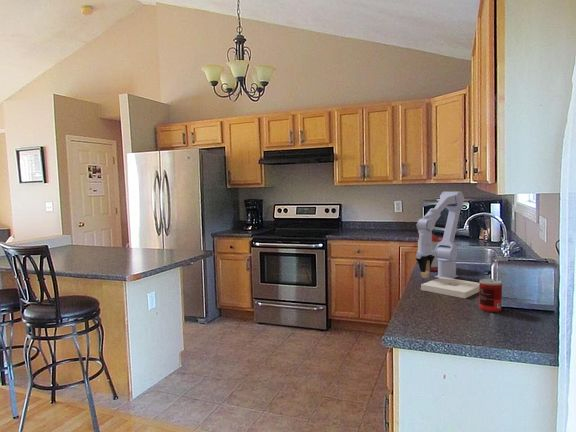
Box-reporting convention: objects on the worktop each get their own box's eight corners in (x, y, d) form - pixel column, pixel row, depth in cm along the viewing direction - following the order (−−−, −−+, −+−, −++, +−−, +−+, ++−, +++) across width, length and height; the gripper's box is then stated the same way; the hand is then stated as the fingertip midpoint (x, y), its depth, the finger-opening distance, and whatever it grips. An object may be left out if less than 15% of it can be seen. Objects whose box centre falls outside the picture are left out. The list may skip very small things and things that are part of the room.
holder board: (441, 281, 196) (441, 276, 196) (484, 289, 182) (484, 283, 182) (420, 289, 183) (420, 284, 183) (465, 298, 168) (465, 292, 168)
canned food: (498, 307, 156) (499, 279, 155) (503, 313, 148) (504, 284, 148) (477, 305, 158) (477, 278, 157) (481, 312, 150) (481, 283, 150)
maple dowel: (423, 275, 198) (423, 259, 197) (431, 277, 195) (431, 260, 194) (419, 277, 195) (419, 261, 195) (427, 278, 192) (427, 262, 192)
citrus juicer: (449, 267, 230) (449, 232, 228) (444, 273, 215) (444, 236, 213) (421, 264, 238) (421, 231, 236) (414, 270, 223) (414, 234, 221)
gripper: (425, 240, 202) (425, 267, 203) (409, 244, 192) (409, 272, 193) (438, 242, 196) (438, 269, 198) (423, 245, 187) (423, 274, 188)
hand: (425, 271), depth 195 cm, fingers closed on maple dowel, 4 cm apart
